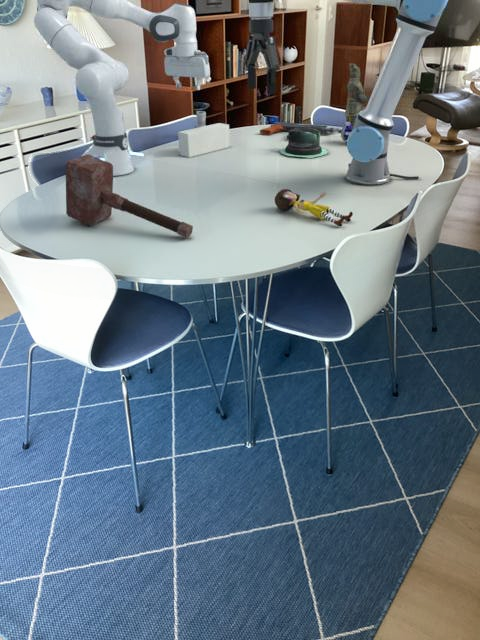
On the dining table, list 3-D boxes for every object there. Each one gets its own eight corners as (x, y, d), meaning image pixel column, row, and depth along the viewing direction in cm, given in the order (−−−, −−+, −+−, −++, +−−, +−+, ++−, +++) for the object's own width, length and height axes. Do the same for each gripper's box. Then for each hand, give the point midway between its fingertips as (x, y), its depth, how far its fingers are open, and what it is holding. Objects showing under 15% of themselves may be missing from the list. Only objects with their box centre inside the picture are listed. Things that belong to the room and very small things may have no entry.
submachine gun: (253, 131, 261) (276, 121, 280) (253, 137, 263) (276, 126, 281) (316, 137, 247) (336, 126, 266) (315, 143, 249) (335, 132, 267)
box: (189, 157, 232) (187, 133, 227) (179, 155, 236) (177, 131, 231) (229, 147, 247) (229, 124, 242) (220, 144, 251) (219, 122, 246)
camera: (202, 109, 261) (225, 113, 253) (203, 135, 267) (226, 140, 259) (189, 112, 256) (212, 116, 247) (190, 138, 262) (213, 143, 253)
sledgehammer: (202, 197, 152) (86, 152, 164) (183, 208, 145) (63, 160, 156) (194, 252, 162) (86, 206, 174) (176, 265, 155) (64, 216, 166)
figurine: (337, 215, 154) (266, 188, 166) (332, 239, 158) (263, 212, 171) (360, 203, 163) (291, 178, 175) (355, 226, 167) (288, 200, 179)
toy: (345, 120, 249) (377, 123, 242) (343, 139, 253) (375, 143, 246) (337, 123, 243) (369, 127, 236) (336, 143, 247) (367, 147, 240)
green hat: (332, 145, 241) (326, 158, 224) (294, 164, 249) (286, 177, 233) (317, 113, 235) (310, 124, 219) (279, 133, 244) (269, 145, 228)
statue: (367, 132, 266) (374, 63, 251) (349, 133, 264) (355, 64, 249) (357, 127, 275) (362, 61, 260) (339, 129, 273) (344, 62, 258)
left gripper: (212, 51, 214) (213, 89, 221) (171, 49, 224) (173, 86, 231) (203, 52, 209) (204, 91, 216) (161, 50, 219) (163, 88, 226)
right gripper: (291, 19, 165) (290, 95, 176) (253, 17, 184) (254, 85, 195) (269, 20, 162) (269, 97, 173) (233, 18, 182) (234, 87, 192)
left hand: (188, 88), depth 224 cm, fingers open, 8 cm apart
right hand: (261, 91), depth 184 cm, fingers open, 13 cm apart
